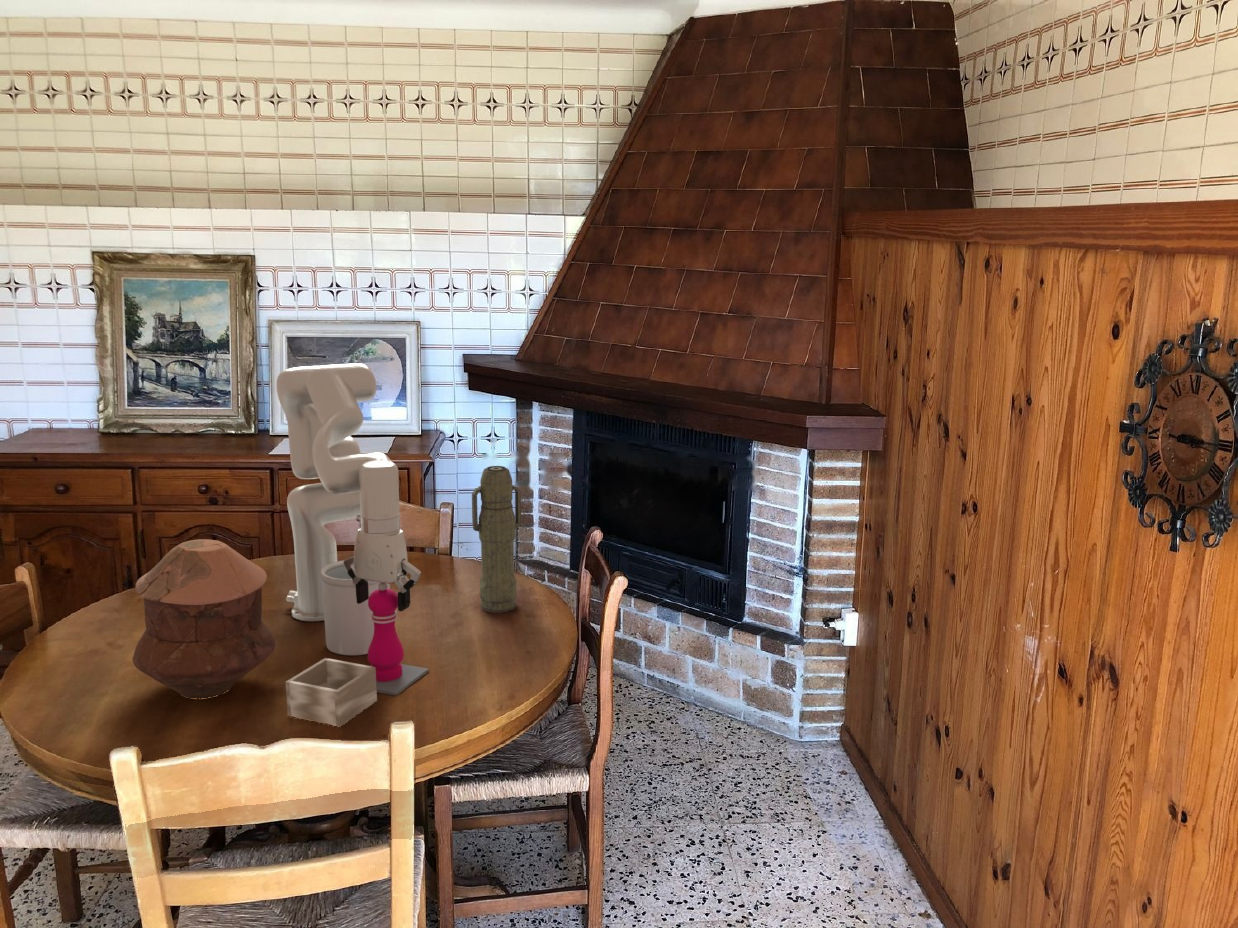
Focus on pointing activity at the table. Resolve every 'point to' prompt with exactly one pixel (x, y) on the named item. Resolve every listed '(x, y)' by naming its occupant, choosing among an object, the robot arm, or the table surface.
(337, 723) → the crate
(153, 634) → the pottery vessel
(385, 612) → the pepper mill
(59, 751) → the table surface
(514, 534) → the thermos
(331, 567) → the utensil holder
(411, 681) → the mat
